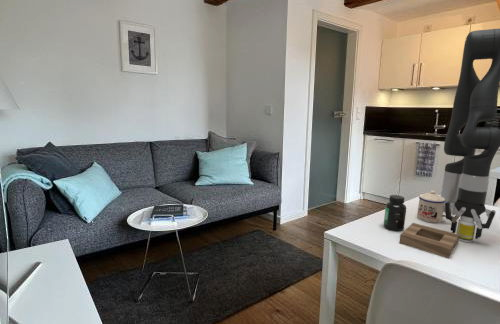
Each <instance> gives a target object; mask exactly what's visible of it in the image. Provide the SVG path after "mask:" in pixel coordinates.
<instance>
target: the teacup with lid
mask: <svg viewBox="0 0 500 324" xmlns="http://www.w3.org/2000/svg"><path fill="white" fill-rule="evenodd" d="M445 202H446V201H445V198H443V197H441V195H439V194H438V193H437V191H436V190H429V192H427V193H421V194H419V196H418V205H417V212H416V213H417V214H416V217H417V219H419V220H421V221H423V222H426V223H432V224H433V223H434V224H437V223H441V222H443V218H446V214H444V211H443V210H444V207H445ZM452 213H453V209H452V208H451V216H452V215H453V214H452Z"/></svg>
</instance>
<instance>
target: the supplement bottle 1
mask: <svg viewBox="0 0 500 324" xmlns="http://www.w3.org/2000/svg"><path fill="white" fill-rule="evenodd" d="M404 203H405V197H404V196H402V195H397V194H392V195H389V199H388V202H387V203H386V204H385V208H384V217H383V227H384V228H385V229H387V230H390V231H393V232H402V231H404V229H405V223H406V222H405V221H406V215H407V214H406V213H407V206H406V205H405V204H404Z"/></svg>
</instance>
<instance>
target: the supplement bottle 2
mask: <svg viewBox="0 0 500 324" xmlns="http://www.w3.org/2000/svg"><path fill="white" fill-rule="evenodd" d="M459 218H460V219H458V221H457V227H456V234H459V240H458V241H460V242H465V243H471V242H473V241H474V238H475V232H476V226H477V224H476V222H475V220H474V218H470V217H465V216H462V215H461V216H460V217H459Z"/></svg>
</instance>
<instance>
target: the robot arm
mask: <svg viewBox="0 0 500 324" xmlns="http://www.w3.org/2000/svg"><path fill="white" fill-rule="evenodd" d="M475 60H476V61H477V60H479V61H480V60H491V65H490V67H489V69H488V71H487V72H486V73H485V75H483V77H482V78H481V80H480V78H479V76H478V75H477V72H476V70H475V68H474V61H475ZM456 87H457V88H456V90H455V91H456V92H455V96H454V100H453V106H452V109H451V111H452V112H451V117H450V122H449V126H448V130H447V133H446V137H445V140H444V144H443V152H444V154H445V155H447V156H452V157H454V156H455V157H463V158H462V159H459V160H458V161H454V162H449V163H446V164H445V166H444V173H443V179H442V186H441V193H440V196H441V197H443V198H445V201H446V202H445V207H444V210H443V213H445V214H444V215H446V217H445V219H446V221H447V220H448V221H450V222H451V224H450V232H451V233H455V234H456V233H457V228H458V221H459V218H460V217H461V215H462V216H465V217H470V218H474V220H475V222H474V223H475V224H476V228H475V234H474V239H476V240H478V239H479V238H481V237H482V234H483V233H482V232H483V229H487V230H488V229H490V227H491V225H492V222H493V220H494V218H495V216H496V213H497V211H496V210H494V209H492V210H491V209H489V208H486V206H485V205H486V200H487V192H488V189H489V176H490V170H491V165H492V162H493V159H494V158H495V156H496V153H497V152H498V150H499V148H500V128H498V127H493V126H492V127H490V126H489V127H488V126H478V125H477V124H479V123H482V122H486V121H487V122H488V121H492V120H495V119H496V117H497V114H498V113H497V112H498V101H499V100H498V98H499V97H498V96H499V89H500V88H499V87H500V28H492V29H491V28H490V29H479V30H478V29H477V30H473V31H469V33H468V34H467V36H466V38H465V41H464V46H463V52H462V58H461V67H460V75H459V79H458V83H457V86H456ZM463 127H464V129H463ZM461 129H463V130H462V133H459V132H460V131H461ZM477 150H483V151H482V152H481V153H479V154H476V151H477ZM451 208H452V209H453V213H452V215H454V216H452V215H451ZM484 213H485V214H486V215H485V216H486V217H487V219H486V222H485V223H483V221H482V217H481V215H483V214H484Z"/></svg>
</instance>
